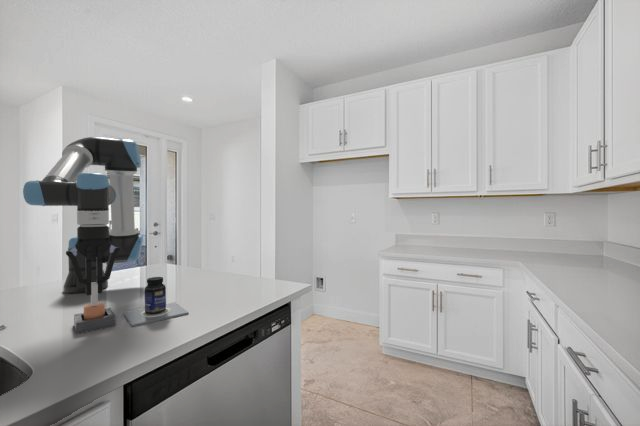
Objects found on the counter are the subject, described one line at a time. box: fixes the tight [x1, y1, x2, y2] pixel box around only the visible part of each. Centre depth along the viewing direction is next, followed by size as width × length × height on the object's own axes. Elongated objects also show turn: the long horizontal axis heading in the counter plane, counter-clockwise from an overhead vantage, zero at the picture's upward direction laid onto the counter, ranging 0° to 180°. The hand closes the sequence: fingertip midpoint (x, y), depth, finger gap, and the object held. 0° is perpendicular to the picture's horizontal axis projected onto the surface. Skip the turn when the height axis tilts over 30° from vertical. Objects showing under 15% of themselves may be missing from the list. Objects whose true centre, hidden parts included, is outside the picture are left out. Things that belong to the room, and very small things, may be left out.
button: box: [83, 302, 106, 320], centre depth 89 cm, size 5×5×5 cm
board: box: [122, 301, 189, 327], centre depth 98 cm, size 14×16×1 cm
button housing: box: [73, 307, 116, 335], centre depth 89 cm, size 9×9×3 cm
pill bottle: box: [144, 276, 167, 314], centre depth 98 cm, size 6×6×11 cm
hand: (94, 304), depth 89 cm, fingers closed
